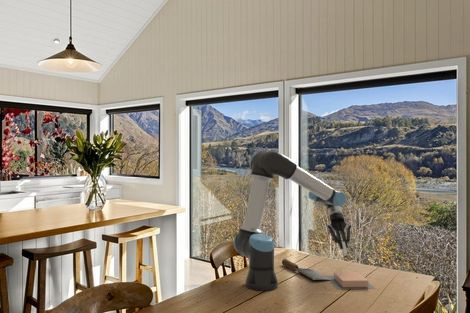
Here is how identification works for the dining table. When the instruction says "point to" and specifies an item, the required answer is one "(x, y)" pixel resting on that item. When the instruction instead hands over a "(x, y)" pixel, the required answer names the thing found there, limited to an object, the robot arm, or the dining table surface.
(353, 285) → the tile
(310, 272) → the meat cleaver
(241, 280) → the dining table surface
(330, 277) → the mat
